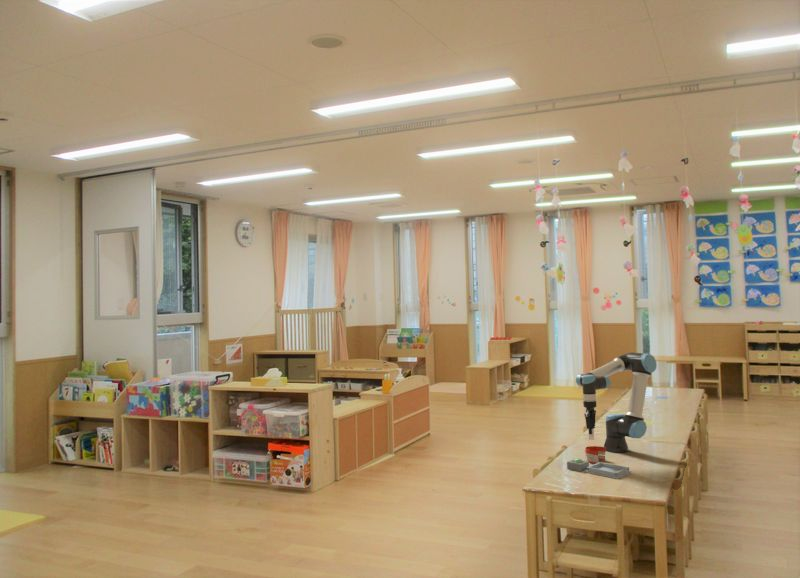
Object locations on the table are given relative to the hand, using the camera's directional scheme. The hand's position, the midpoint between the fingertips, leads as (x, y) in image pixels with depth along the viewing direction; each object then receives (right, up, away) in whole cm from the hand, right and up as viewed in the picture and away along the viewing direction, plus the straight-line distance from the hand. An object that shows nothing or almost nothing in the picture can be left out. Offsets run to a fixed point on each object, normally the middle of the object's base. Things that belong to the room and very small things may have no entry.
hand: (591, 439), depth 383 cm
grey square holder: (-12, -14, -14) cm, 23 cm away
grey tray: (+2, -13, -24) cm, 28 cm away
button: (-12, -13, -14) cm, 23 cm away
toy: (+2, -14, +2) cm, 14 cm away
